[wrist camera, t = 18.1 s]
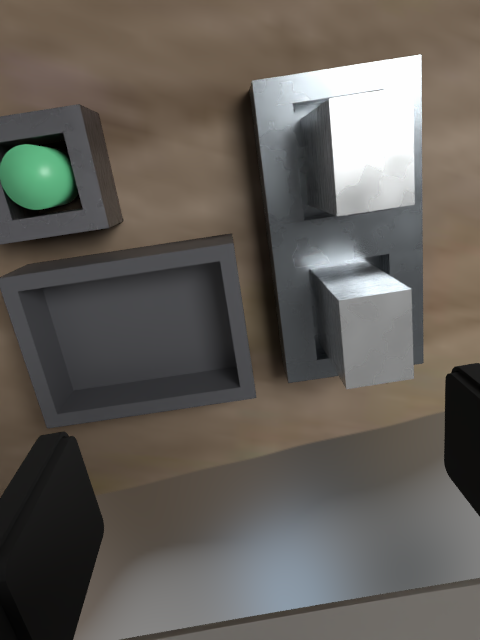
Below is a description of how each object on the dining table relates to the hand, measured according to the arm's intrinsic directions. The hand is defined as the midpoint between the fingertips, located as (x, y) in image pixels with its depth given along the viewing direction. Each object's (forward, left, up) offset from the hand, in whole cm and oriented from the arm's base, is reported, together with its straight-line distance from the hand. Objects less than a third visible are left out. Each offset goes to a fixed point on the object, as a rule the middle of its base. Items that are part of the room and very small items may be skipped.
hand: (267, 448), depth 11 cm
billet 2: (+4, +7, -21) cm, 23 cm away
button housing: (-8, -11, -22) cm, 26 cm away
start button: (-8, -11, -21) cm, 25 cm away
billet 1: (-6, +7, -21) cm, 24 cm away
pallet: (-1, +7, -22) cm, 24 cm away
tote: (+3, -8, -22) cm, 24 cm away
